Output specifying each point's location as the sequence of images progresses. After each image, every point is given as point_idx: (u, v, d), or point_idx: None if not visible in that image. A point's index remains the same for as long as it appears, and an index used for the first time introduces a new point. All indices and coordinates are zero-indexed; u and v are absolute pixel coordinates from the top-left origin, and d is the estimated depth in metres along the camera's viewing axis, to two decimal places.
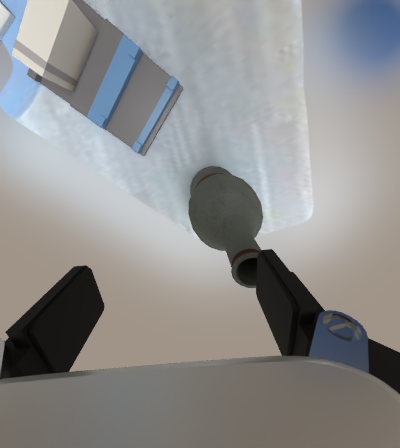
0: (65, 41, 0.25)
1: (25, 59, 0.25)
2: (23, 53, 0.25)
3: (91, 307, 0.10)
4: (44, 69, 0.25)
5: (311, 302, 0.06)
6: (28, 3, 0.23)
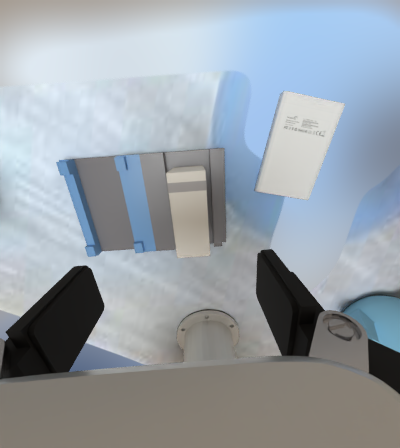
0: None
1: (190, 177, 0.19)
2: (194, 182, 0.19)
3: (91, 307, 0.10)
4: (167, 183, 0.19)
5: (311, 302, 0.06)
6: (208, 228, 0.21)
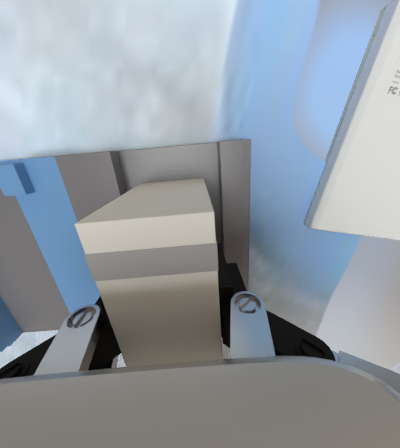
0: None
1: (161, 235, 0.05)
2: (177, 248, 0.06)
3: None
4: (84, 254, 0.06)
5: (230, 284, 0.07)
6: None
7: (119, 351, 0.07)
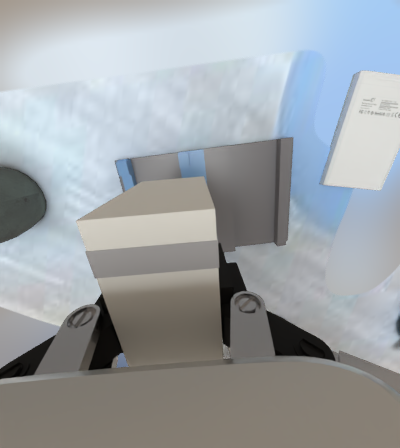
0: None
1: (163, 232, 0.05)
2: (178, 246, 0.06)
3: None
4: (86, 251, 0.06)
5: (230, 284, 0.07)
6: (222, 352, 0.08)
7: (119, 351, 0.07)
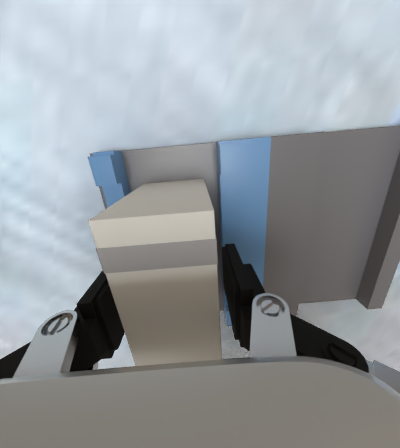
0: None
1: (166, 231, 0.06)
2: (180, 243, 0.06)
3: None
4: (96, 248, 0.06)
5: (250, 286, 0.07)
6: (220, 343, 0.08)
7: (98, 358, 0.07)
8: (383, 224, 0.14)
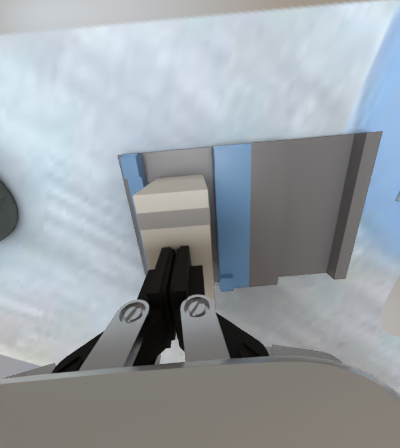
0: None
1: (179, 202, 0.10)
2: (187, 210, 0.10)
3: None
4: (136, 213, 0.10)
5: (183, 287, 0.07)
6: (213, 284, 0.12)
7: (164, 346, 0.07)
8: (342, 210, 0.17)
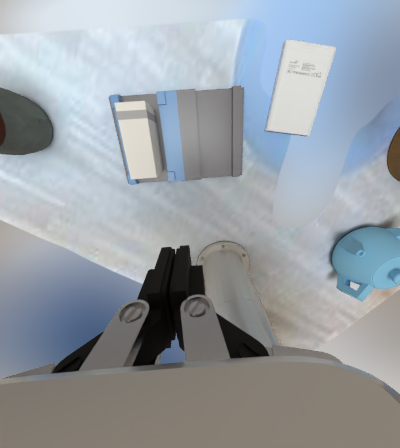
0: None
1: (133, 106, 0.24)
2: (137, 110, 0.25)
3: None
4: (116, 111, 0.25)
5: (183, 287, 0.07)
6: (153, 152, 0.27)
7: (164, 346, 0.07)
8: (232, 132, 0.32)
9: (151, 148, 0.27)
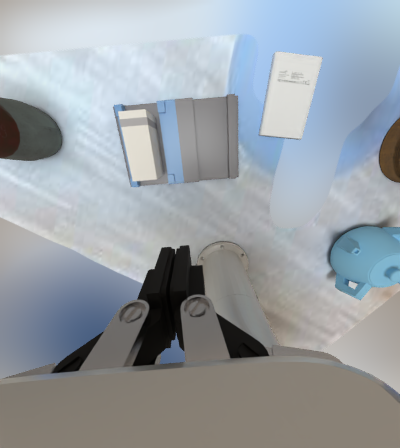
0: None
1: (135, 114, 0.27)
2: (138, 118, 0.27)
3: None
4: (119, 119, 0.27)
5: (183, 287, 0.07)
6: (153, 156, 0.29)
7: (164, 346, 0.07)
8: (227, 137, 0.34)
9: (151, 152, 0.29)
